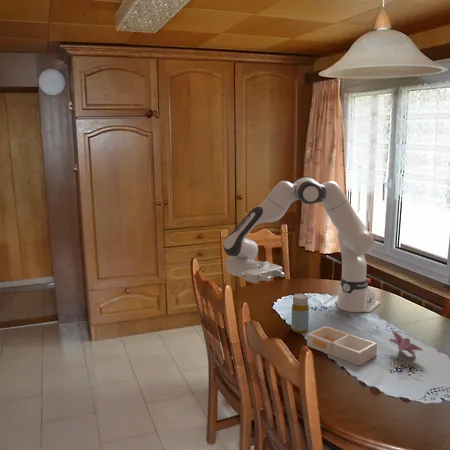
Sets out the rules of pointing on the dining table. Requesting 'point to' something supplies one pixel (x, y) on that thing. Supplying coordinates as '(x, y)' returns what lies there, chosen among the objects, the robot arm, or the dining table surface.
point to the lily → (404, 344)
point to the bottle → (300, 313)
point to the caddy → (342, 345)
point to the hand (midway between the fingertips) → (276, 277)
